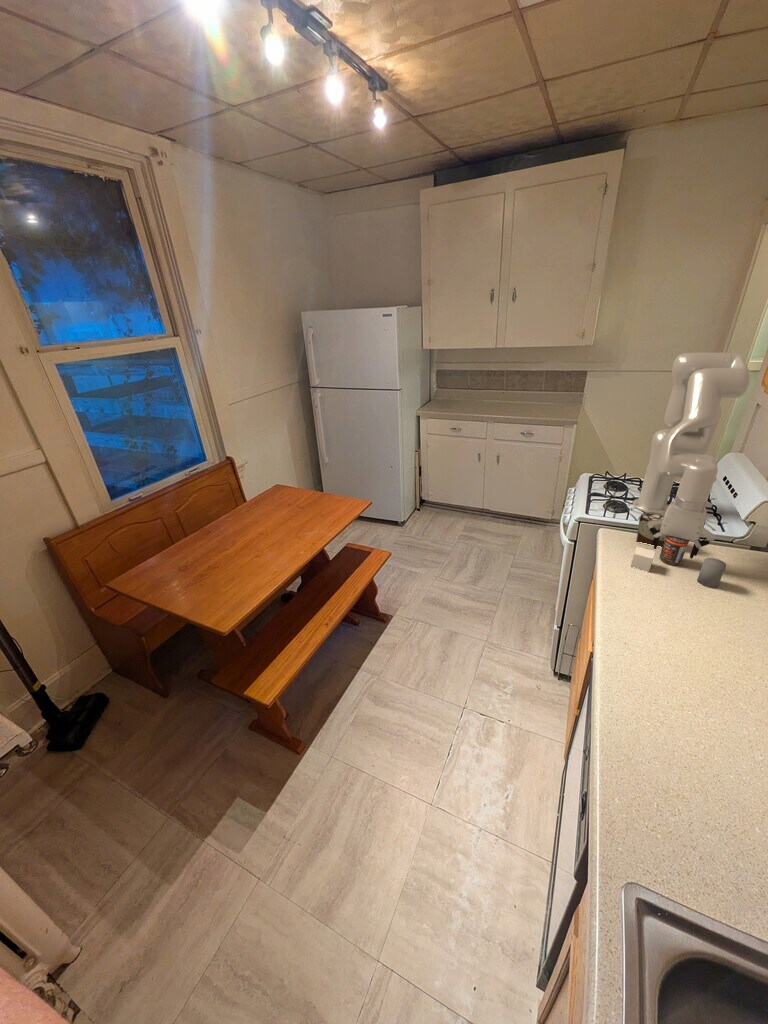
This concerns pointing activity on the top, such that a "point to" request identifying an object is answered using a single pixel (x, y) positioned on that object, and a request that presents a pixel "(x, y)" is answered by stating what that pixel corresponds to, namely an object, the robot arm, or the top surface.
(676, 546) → the supplement bottle
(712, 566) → the gray cylinder
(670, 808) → the top surface
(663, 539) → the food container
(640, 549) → the off-white block
